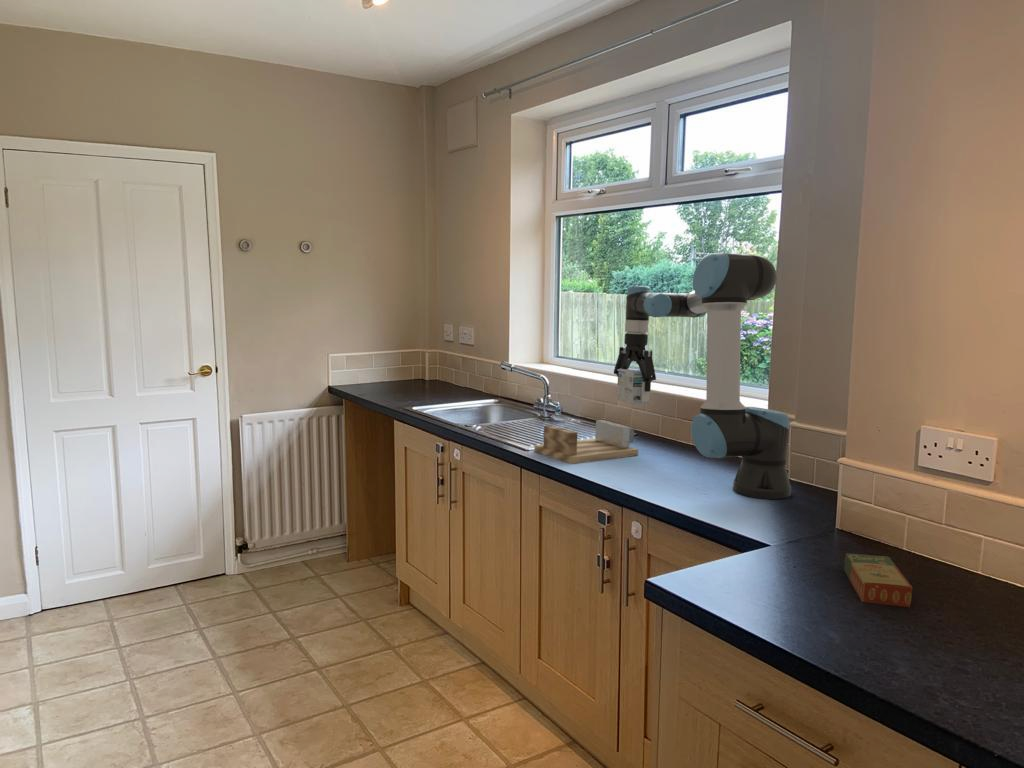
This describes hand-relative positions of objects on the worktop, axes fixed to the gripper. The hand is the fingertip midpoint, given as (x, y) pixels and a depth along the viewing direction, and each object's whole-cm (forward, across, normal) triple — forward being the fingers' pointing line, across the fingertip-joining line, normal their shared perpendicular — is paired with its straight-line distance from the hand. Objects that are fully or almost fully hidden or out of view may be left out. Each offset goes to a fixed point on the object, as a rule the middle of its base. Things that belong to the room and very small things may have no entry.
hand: (632, 398), depth 248 cm
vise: (+19, +6, +14) cm, 24 cm away
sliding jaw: (+16, +6, 0) cm, 18 cm away
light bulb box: (+1, 0, 0) cm, 1 cm away
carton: (+18, -110, +32) cm, 116 cm away
